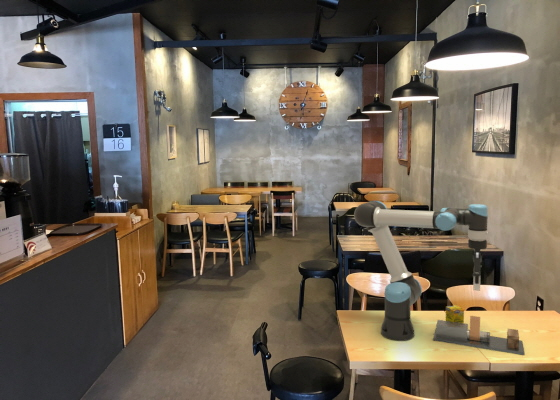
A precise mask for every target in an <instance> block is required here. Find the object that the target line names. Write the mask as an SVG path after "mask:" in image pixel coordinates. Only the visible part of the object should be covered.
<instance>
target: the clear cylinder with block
mask: <svg viewBox="0 0 560 400" xmlns="http://www.w3.org/2000/svg"><path fill="white" fill-rule="evenodd" d="M480 328H481V316H476V315H470V317H469V328H468V329H467V338H470V340H476V341H480V340H487V341H490V336H491V333H490V332H488V331H482V330H481V329H480Z"/></svg>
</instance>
